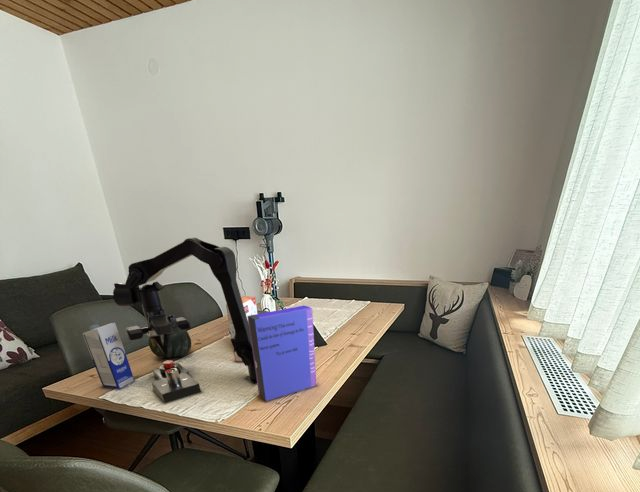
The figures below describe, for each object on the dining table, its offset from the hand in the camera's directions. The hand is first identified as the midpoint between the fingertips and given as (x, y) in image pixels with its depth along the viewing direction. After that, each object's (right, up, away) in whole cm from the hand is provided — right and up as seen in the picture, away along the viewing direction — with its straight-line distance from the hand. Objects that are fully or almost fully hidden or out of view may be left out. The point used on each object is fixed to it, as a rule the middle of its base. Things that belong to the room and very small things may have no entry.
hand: (165, 353), depth 118 cm
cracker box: (+24, +3, +19) cm, 31 cm away
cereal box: (+42, -13, -9) cm, 45 cm away
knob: (+6, -10, -8) cm, 14 cm away
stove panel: (+6, -13, -6) cm, 16 cm away
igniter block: (0, -7, +4) cm, 8 cm away
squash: (-7, +3, +23) cm, 24 cm away
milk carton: (-15, -10, 0) cm, 19 cm away
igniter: (0, -4, +2) cm, 5 cm away
